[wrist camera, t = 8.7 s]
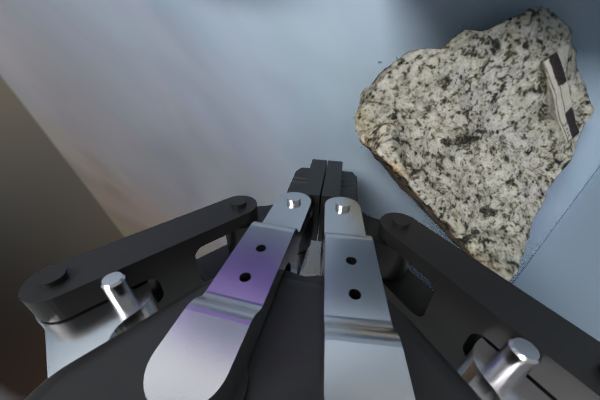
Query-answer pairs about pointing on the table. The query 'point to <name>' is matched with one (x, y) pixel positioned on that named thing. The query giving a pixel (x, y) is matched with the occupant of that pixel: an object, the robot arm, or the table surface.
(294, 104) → the table surface
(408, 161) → the rock sample
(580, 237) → the box
